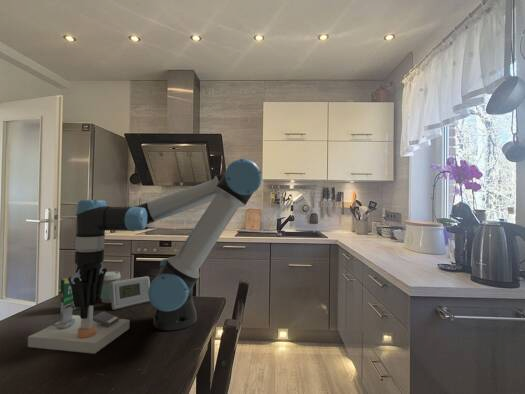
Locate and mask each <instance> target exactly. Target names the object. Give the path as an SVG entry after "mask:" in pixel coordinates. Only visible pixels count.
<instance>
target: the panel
mask: <svg viewBox="0 0 525 394" xmlns="http://www.w3.org/2000/svg"><path fill="white" fill-rule="evenodd" d="M72 319H75V323H74V324H72V325H70V326H68V327H66V328H56V327H57V323H59V322H60V320H59V321H57V322H56V323H52V324H51V325H49V326H47V327H46V328H44V329H42V330H39V331H37V332H35V333H33V334H31V335H28V336H27V347H28V348H35V349H36V348H37V349H46V350H53V351H56V350H57V351H65V352H75V353H84V354H85V353H86V354H97V352H99V351H100V350H102V349H103V348H105V347H106V346H107V345H109V344H111V343H112V342H113V341H114V340H116V339H117V338H119V337H120V336H121V335H123V333H126V332H127V331H128V330H129V329H130V324H131V323H130V321H131V320H130V319H126V318H119V320H118V321H117V322H115V323H114V324H112V325H111V326H109V327H108V326H105V325H103V324H100V323H97V322H95V321H93V325H96V326H97V328H96V334H95V335H94V336H92V337H89V338H84V339H81V338H78V329H79V328H80V327H81V318H80V315H78V314H77V315H76V314H75V315H74V314H72Z"/></svg>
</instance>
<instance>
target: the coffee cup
mask: <svg viewBox="0 0 525 394" xmlns="http://www.w3.org/2000/svg"><path fill="white" fill-rule="evenodd" d="M121 276H122V275H121V272H120V271H106V274H105V276H104V281H103V286H102V291H101V296H100V300H101V303H103V304H109V303H111V290H110V284H111V283H112V282H116V281H121Z"/></svg>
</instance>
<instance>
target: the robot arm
mask: <svg viewBox="0 0 525 394" xmlns="http://www.w3.org/2000/svg"><path fill="white" fill-rule="evenodd" d="M261 183H262V172H261V169H260V167H259V166H258V165H257V163H255V162H254V161H252V160H250V159H247V158H239V159H237V160H236V159H235V160H234V161H232V162H231V163H229V164H228V166H227V168H226V171H224V172H222V173H220V174H217V175H215V176H214V178H213V179H210V180H208V181H206V182H202V183H200V184H196V185H193V186H191V187H188V188H185V189H182V190H179V191H177V192H173V193H170V194H167V195H165V196H162V197H159V198H156V199H154V200H151V201H148V202H145V203H142V204H139V205H136V206H109V205H108V206H107V202H106V200H104V199H81V200H79V201H78V202H77V206H76V207H77V209H76V214H75V216H76V228H75V230H76V231H75V232H76V233H75V250H76V251H75V253H74V263H75V265H76V266H77V267H76V270H75V274H74V275H73V276H69V277H68V278H69V279H68V281H69V283H70V284H71V288H72V295H73V301H74V306H75V307H79V308H81V309H80V315H79V316H80V318H81V328H83V329H90V328H91V327H93V317H94V313H95V306H96V305H98V304H99V302H98V301H100V300H101V291H102V286H103V281H104V276H105V274H106V272H108V269H107V268H106V267H105V268H104V267H102V262H104V261H105V260H104V259H105V250H104V248H105V239H106V238H105V237H106V234H105V233H106V231H108V232H109V231H124V232H125V231H126V232H137V231H139V232H141V231H143V230H145V228H146V227H147V226H148V225H149V224H152V223H154V222H157V221H160V220H163V219H165V218H168V217H172V216H175V215H176V214H180V213H182V212H185V211H188V210H191V209H194V208H196V207H200V206H202V205H205V204H207V203H210V204H209V205H208V206H207V208H206V209H205V211H204V213H203V214H202V215H201V216H200V219H199V220H198V221H197V222H196V225H195V226H194V227H193V228H192V230H191V232H190V233H189V235H188V237H187V238H186V239H185V241H184V243H183V244H182V246H181V247H180V248H179V250H178V252H177V253H176V254H175V255H174V256H169V257H168V258H163V259H161V260H160V264H159V269H160V270H159V272H158V273H157V275H156V276H155V278H153V279H152V280H151V281H150V287H149V291H148V296H149V299H150V301H149V303H151V305H152V306H153V307H154V308H156V309H155V313H154V316H153V323H152V324H153V326H154V327H155V329H158V330H162V331H177V330H184V329H186V328H188V327H189V328H190V327H191V326H193V325H194V324H195V323H196V322H197V316H198V314H197V310H196V307H195V303H194V300H193V289H194V286H195V285H196V283H197V281H198V279H199V278H200V276H201V275H200V270H199V269H200V268H201V267H202V265H203V263H204V262H205V260H206V259H207V257H208V256H209V254H210V253H211V251H212V249H213V248H214V246H215V245H216V243H217V242H218V240H219V238H220V236H221V235H222V234H223V232H224V231H225V229H226V227H227V226H228V225H229V223H230V221H231V220H232V218H233V216H234V215H235V213H236V212H237V211H238V209H239V208H242V207H246V205H247V203H248V202H249V200H250V199H251V197H252V196H253V194H254V193H255V192H256V191H257V190H259V188H260V187H261Z"/></svg>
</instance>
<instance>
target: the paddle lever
mask: <svg viewBox="0 0 525 394" xmlns="http://www.w3.org/2000/svg"><path fill="white" fill-rule="evenodd" d="M72 310H73V307H68V308H66V309H64V310H62V311H60V310H59V311H60V313H59V314H60V315H59V321H60V322H59V321H58V322H59V323H57V322H56V323H57V327H56V328H66V327H68V326H70V325H72V324H74V323H75V319H72V315H73V311H74V310H73V311H72Z"/></svg>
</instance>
